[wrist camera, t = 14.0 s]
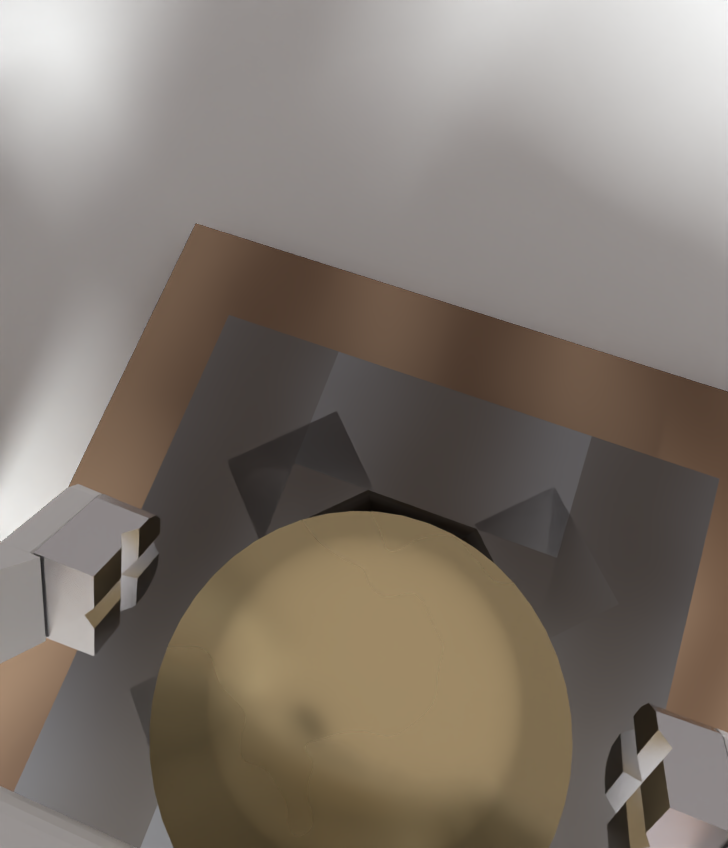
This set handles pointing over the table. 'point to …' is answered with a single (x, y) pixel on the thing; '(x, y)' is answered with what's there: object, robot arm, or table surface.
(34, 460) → the table surface
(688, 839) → the robot arm
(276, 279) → the socket board
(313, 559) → the brass plug
